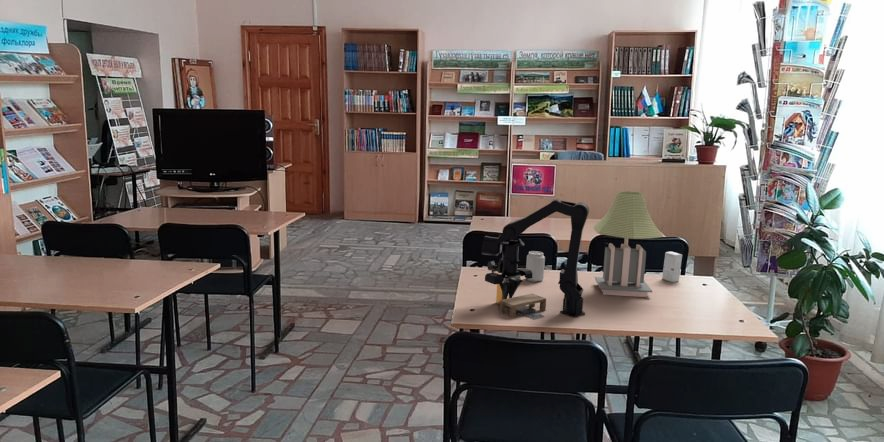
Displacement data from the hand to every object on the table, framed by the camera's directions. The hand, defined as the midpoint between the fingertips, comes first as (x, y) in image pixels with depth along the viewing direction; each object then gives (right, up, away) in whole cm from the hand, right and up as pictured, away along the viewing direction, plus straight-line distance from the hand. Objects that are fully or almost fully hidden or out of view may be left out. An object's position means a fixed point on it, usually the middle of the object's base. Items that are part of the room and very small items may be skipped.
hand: (507, 298), depth 233 cm
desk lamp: (+49, 0, +25) cm, 55 cm away
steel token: (+8, -5, -10) cm, 14 cm away
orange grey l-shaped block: (+2, -3, -2) cm, 4 cm away
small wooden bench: (+5, -4, -6) cm, 8 cm away
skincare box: (+76, +2, +44) cm, 88 cm away
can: (+15, +3, +37) cm, 40 cm away
